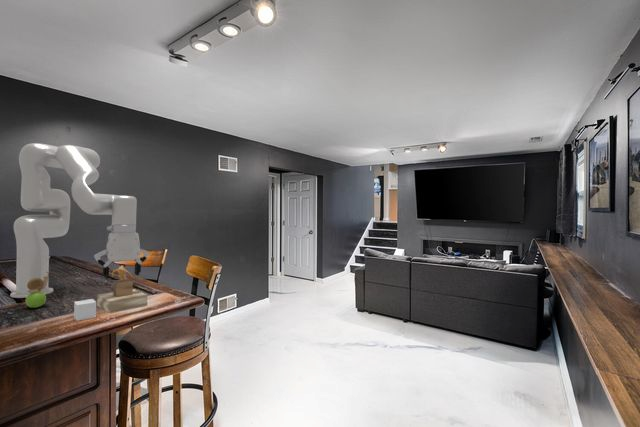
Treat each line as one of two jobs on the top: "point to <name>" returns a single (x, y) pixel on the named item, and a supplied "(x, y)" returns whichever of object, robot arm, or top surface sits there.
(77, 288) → the top surface
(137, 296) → the birch block
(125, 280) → the walnut cube
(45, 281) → the snail figurine
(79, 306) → the grey cube
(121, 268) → the figurine
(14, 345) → the top surface
